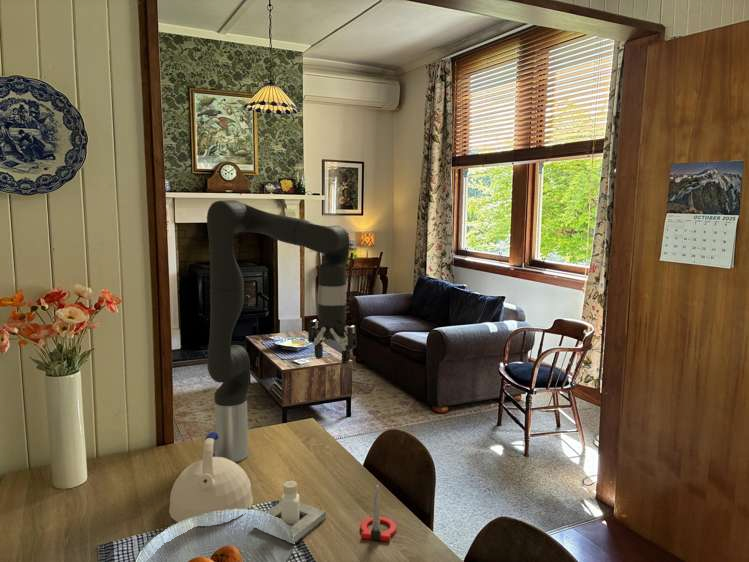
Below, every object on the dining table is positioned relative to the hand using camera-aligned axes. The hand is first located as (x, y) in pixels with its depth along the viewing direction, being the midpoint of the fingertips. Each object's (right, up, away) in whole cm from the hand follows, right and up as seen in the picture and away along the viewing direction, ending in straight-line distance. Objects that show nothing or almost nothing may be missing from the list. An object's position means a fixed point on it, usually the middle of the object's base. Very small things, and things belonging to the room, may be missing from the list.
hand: (332, 360), depth 152 cm
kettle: (-29, -35, -10) cm, 47 cm away
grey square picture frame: (-9, -36, -18) cm, 41 cm away
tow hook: (+12, -37, -20) cm, 44 cm away
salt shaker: (-8, -36, -18) cm, 41 cm away
